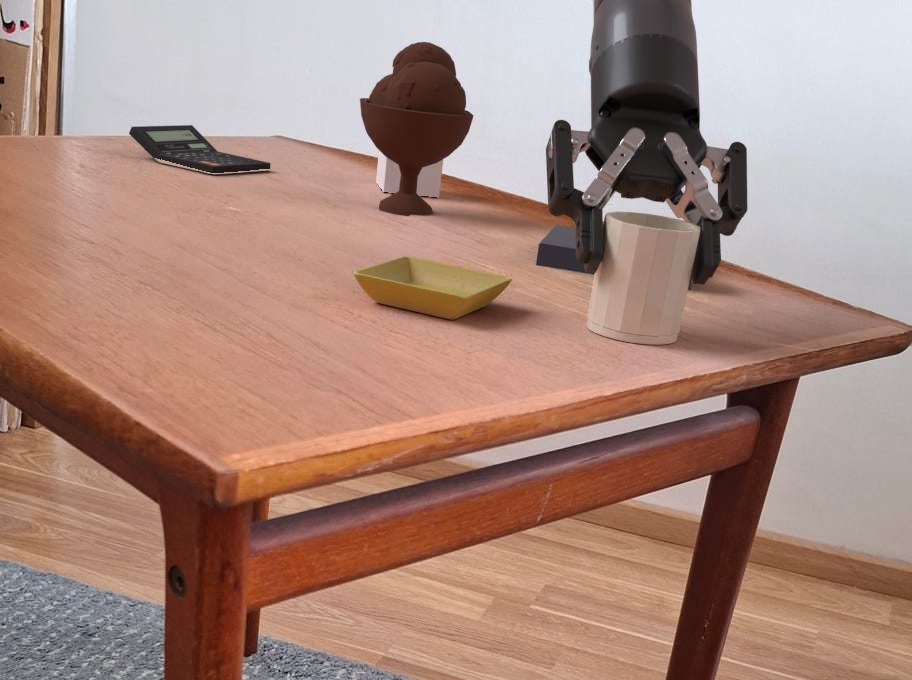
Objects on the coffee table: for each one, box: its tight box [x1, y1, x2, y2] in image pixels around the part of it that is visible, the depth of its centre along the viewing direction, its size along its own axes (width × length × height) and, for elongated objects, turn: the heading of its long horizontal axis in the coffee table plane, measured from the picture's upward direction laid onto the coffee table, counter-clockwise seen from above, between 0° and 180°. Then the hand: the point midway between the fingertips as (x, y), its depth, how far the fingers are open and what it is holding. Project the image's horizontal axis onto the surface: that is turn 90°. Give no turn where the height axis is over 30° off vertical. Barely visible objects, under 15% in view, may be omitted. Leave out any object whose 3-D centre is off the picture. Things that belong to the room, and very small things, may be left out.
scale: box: [535, 224, 693, 291], centre depth 107 cm, size 14×12×4 cm
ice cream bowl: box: [359, 41, 474, 217], centre depth 118 cm, size 11×11×15 cm
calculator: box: [128, 124, 271, 173], centre depth 132 cm, size 9×12×3 cm
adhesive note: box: [375, 150, 444, 199], centre depth 132 cm, size 6×6×6 cm
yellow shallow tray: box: [352, 255, 513, 321], centre depth 86 cm, size 9×9×2 cm
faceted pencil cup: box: [585, 211, 701, 346], centre depth 85 cm, size 6×6×8 cm
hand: (649, 271), depth 83 cm, fingers open, 7 cm apart
